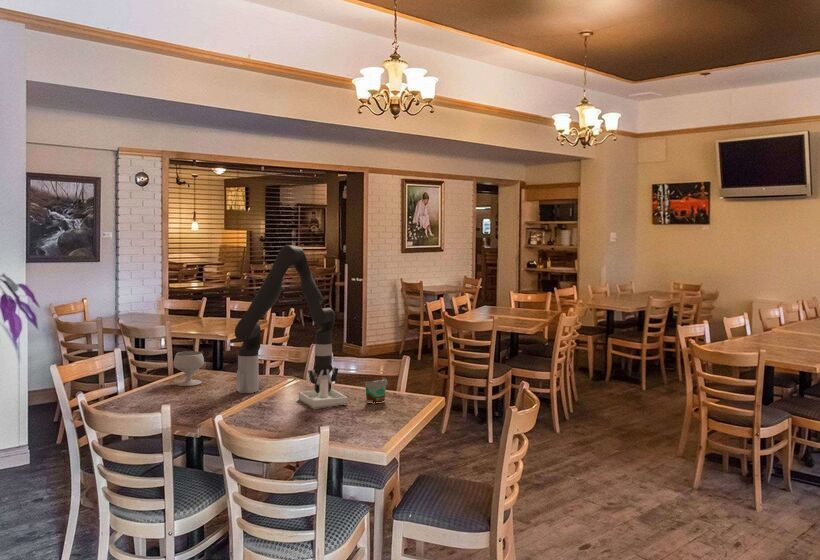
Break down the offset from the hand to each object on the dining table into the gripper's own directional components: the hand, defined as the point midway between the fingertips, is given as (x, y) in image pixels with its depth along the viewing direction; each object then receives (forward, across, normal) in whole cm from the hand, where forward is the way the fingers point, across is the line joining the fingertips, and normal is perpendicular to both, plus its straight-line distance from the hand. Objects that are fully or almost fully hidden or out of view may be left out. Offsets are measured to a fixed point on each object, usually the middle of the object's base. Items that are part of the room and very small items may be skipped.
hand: (322, 391), depth 282 cm
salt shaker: (+2, 0, 0) cm, 2 cm away
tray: (+5, 0, 0) cm, 5 cm away
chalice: (+5, +44, -61) cm, 75 cm away
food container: (+5, -22, +11) cm, 25 cm away
